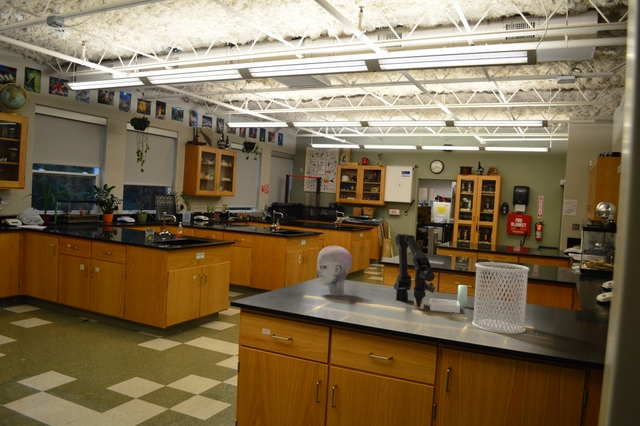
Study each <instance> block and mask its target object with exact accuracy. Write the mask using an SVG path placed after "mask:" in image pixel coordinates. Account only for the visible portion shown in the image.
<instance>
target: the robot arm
mask: <svg viewBox="0 0 640 426" xmlns="http://www.w3.org/2000/svg"><path fill="white" fill-rule="evenodd" d="M394 238H395V239H394V240H395V245H396V247H397V248H398V261H399V262H398V263H399V265H398V266H399V267H398V268H399V271H398V272H399V273H398V275H397V277H396V281H395V283H394V284H393V289H394V290H396V293H395V294H396V296H395V300H396V301H404V302H407V301H408V300H409V292H408V291H410V290H411V288H412V284H413V282H412V276H411V275H410V274H409V270H408V269H409V267H408V248H409V250H410V251H411V252H410V253H411V254H412V261H413V264H414V267H413V270H415V271H414V273H415V275H414V286H413V297H414V299H415V300H416V303H417V306H418V307H420V305H421V301H422V298H423V299H424V298H425V297H426V295H427V294H426V292H427V291H429V292H430V293H435V291H436V286H435V285H434V283H433V281H434V279H435V277H436V276H435V273H434V272H433V270H432V266H431V263H430V260H429V258H428V256H427V255H426V253H424V252H422V251H421V248H420V246H419V244H418V243H417V240H416V239H415V238H416V237H415V235H414V234H408V233H398V234H397V235H396V236H394ZM427 282H429V283H427Z"/></svg>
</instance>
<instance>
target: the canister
mask: <svg viewBox="0 0 640 426" xmlns="http://www.w3.org/2000/svg"><path fill="white" fill-rule="evenodd" d="M457 285H458V284H457ZM467 299H468V285H465V284H459V285H458V287H457V301H458V302H459V304H460V308H467Z"/></svg>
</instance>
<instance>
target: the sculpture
mask: <svg viewBox="0 0 640 426" xmlns="http://www.w3.org/2000/svg"><path fill="white" fill-rule="evenodd" d="M352 266H353V258H352V255H351V254H350V252H349V251H348V250H347V249H346V248H344V247H342V246H339V245H328V246H326V247H323V248H322V249H321V250H320V251H319V252H318V256H317V260H316V269H317V276H318V279H319V283H320V285H322V286H324V287H326V286H328V291H327V292H328V295H330V296H346V292H345V280H346V279H347V276H348V274H349V273H350V270H351V268H352Z"/></svg>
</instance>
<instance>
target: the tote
mask: <svg viewBox="0 0 640 426" xmlns="http://www.w3.org/2000/svg"><path fill="white" fill-rule="evenodd" d="M429 309H430V310H429V311H432V312H433V311H434V312H445V313H453V312H454V313H456V314H460V313H461V312H460V311H461V307H460V304H459V302H458V299H457V300H456V299H455V300H453V299H443V298H433V297H430V298H429Z"/></svg>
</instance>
